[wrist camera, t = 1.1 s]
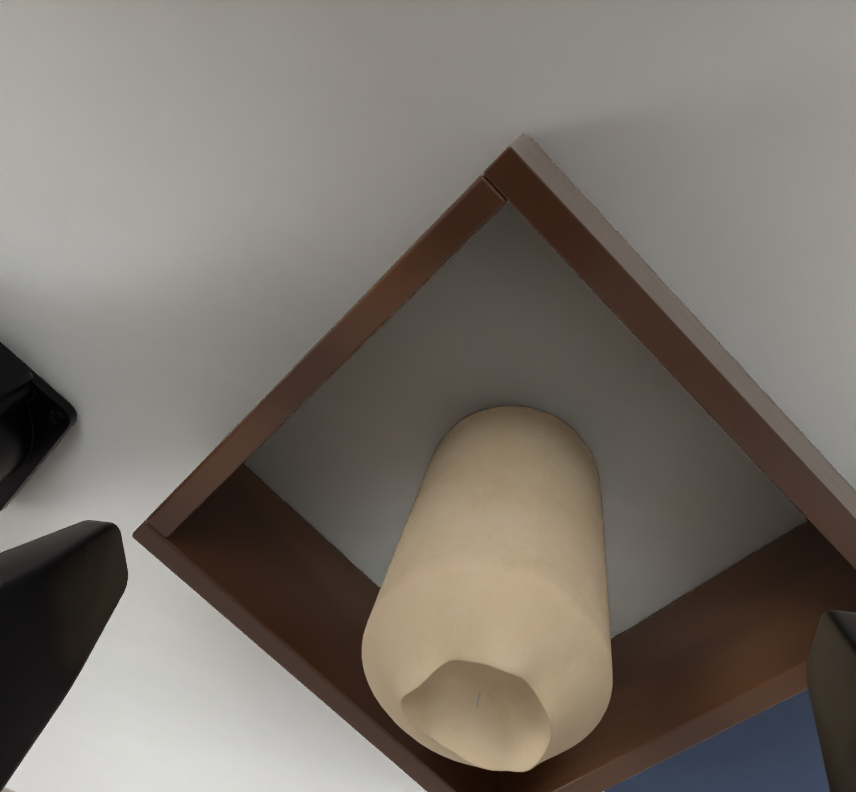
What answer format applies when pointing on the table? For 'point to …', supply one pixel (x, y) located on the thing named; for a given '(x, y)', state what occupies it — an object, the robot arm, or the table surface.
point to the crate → (631, 651)
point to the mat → (746, 757)
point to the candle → (497, 597)
